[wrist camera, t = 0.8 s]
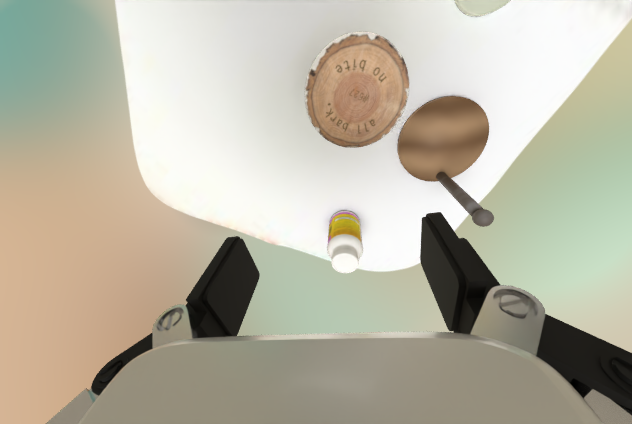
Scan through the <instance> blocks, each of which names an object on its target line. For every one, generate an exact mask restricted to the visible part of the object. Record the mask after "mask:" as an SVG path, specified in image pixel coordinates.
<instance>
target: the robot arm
mask: <svg viewBox="0 0 632 424" xmlns="http://www.w3.org/2000/svg"><path fill="white" fill-rule="evenodd" d="M420 259H421V264H422V267H423V270H424V272H425V275H426V277H427V279H428V282H429V284H430V287H431V289H432V292H433V294H434V296H435V299H436V301H437V303H438V306H439V308H440V311H441V313H442V316H443V318H444V321H445V323H446V325H447V327H448V329H449V331H454V333H451V332H450V333H449V332H371V333H330V334H329V333H328V334H292V335H291V334H290V335H258V336H237V334H238V332H239V329H240V326H241V324H242V321H243V319H244V316H245V314H246V311H247V308H248V306H249V303H250V300H251V298H252V295H253V293H254V290H255V288H256V285H257V282H258V280H259V271H258V269H257V267H256V265H255V263H254V261H253V259H252V257H251V255H250V253H249V251H248V249H247V247H246V245H245V243H244V241H243V239H240V237H238V236H236V237H228V238H227V239H226V240H225V242H224V243H223V244H222V246H221V248H220V249H219V251H218V252H217V254H216V255H215V257H214V258H213V260H212V261H211V263H210V264H209V266H208V267H207V269H206V270H205V272H204V273H203V275H202V276H201V278H200V279H199V281H198V282H197V284H196V285H195V287H194V288H193V290H192V291H191V293H190V294H189V296H188V297H187V299H186V301H187V302H188V303H187V304H186V306H185V305H175V306H173V307H171V308H169V309H167V310H166V311H164V312H163V313H162V314H161V315H160V316H159V317H158V319H157V320H156V322H155V323H154V325H153V329H152V330H153V331H152V333H151V334H150V335H148V336H147V337H145V338H144V339H142V340H141V341H139V342H138V343H136V344H135V345H133V346H132V347H130V348H129V349H127V350H126V351H124V352H123V353H121V354H119V355H118V356H116V357H115V358H113V359H112V360H111V361H110V362H108V363H107V364H106V365H105V366H104V367H103V368H102V369H101V370H100V371H99V373H98V374H97V375H96V377H95V379H94V381H93V383H92V386H91V389H90V390H88V389H87V388H86V389H85V390H84V391H82V392H81V393H80V394H79V395H78V396H77V397H76V398H74V399H73V400H72V401H71V402H70V403H69V404H68V405H67V406H65V407H64V408H63V409H62V410H61V411H60V412H59V413H57V414H56V415H55V416H54V417H53V418H52V419H51V420H49V422H47V423H46V424H632V353H630V352H628V351H626V350H624V349H621V348H619V347H617V346H615V345H612V344H610V343H608V342H606V341H604V340H602V339H599V338H597V337H595V336H593V335H590V334H588V333H586V332H584V331H582V330H580V329H577V328H575V327H573V326H571V325H569V324H566V323H564V322H562V321H560V320H557V319H555V318H553V317H551V316H549V315H547V314H545V309H544V307H543V305H542V303H541V302H540V301H539V300H538V299H537V298H536V297H535V296H533V295H532V294H530V293H528V292H527V291H525V290H522V289H520V288H517V287H513V286H506V285H500V284H499V282H498V281H497V280H496V278H495V277H494V276H493V274H492V273H491V272H490V270H489V269H488V268H487V266H486V265H485V263H484V262H483V261H482V259H481V258H480V257H479V255H478V254H477V253H476V251H475V250H474V249H473V247H472V246H471V245H470V243H469V242H468V241H467V240H466V239H465V238H458V236H457V235H456V234H455V232H454V231H453V229H452V228H451V226H450V225H449V224H448V222H447V221H446V219H445V218H444V216H443V215H442V214H441V212H437V213H429V214H427V215H426V217H423V218H422V232H421V256H420Z"/></svg>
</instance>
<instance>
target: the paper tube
mask: <svg viewBox="0 0 632 424" xmlns="http://www.w3.org/2000/svg"><path fill="white" fill-rule="evenodd" d="M408 92H409V77H408V71H407V67H406V64H405V62H404V59H403V57H402V56H401V54H400V52H399V51H398V50H397V48H396V47H395V46H394V45H393V44H392V43H391V42H390V41H388V40H387V39H385V38H384V37H382V36H380V35H378V34H374V33H371V32H352V33H348V34H345V35H342V36H340V37H338V38H336V39H335V40H333V41H332V42H330V43H329V44H328V45H327V46H325V47H324V48H323V49H322V50H321V52H320V53H319V54H318V55H317V57H316V58H315V60H314V62H313V64H312V66H311V68H310V70H309V73H308V76H307V80H306V85H305V104H306V109H307V113H308V115H309V118H310V120H311V122H312V124H313V126H314V127H315V129H316V130H317V131H318V132H319V133H320V134H321V135H322V136H323V137H324V138H325V139H327V140H328V141H330V142H332V143H333V144H336V145H339V146H342V147H350V148H355V147H363V146H367V145H369V144H372V143H374V142H376V141H378V140H379V139H381V138H382V137H384V136H385V135H386V134H387V133H389V132H390V130H391V129H392V128H393V127H394V126H395V125H396V123H397V122H398V120H399V119H400V117H401V115H402V113H403V111H404V108H405V106H406V102H407V98H408Z"/></svg>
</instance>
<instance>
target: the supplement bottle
mask: <svg viewBox="0 0 632 424" xmlns="http://www.w3.org/2000/svg"><path fill="white" fill-rule="evenodd" d="M327 251H328V254H329V256H330V258H331V259H332V266H333V268H334V269H335V270H337V271H339V272H341V273H350V272H352V271H354V270H356V269H357V267H358V264H359V259H360V257H361V256H362V253H363V245H362V237H361V227H360V221H359V218H358V217H357V216H356V215H355V214H354V213H352V212H350V211H340V212H337V213H336V214H334V215H333V216H332V218H331V219H330V224H329V235H328V246H327Z"/></svg>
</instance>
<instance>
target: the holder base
mask: <svg viewBox="0 0 632 424" xmlns="http://www.w3.org/2000/svg"><path fill="white" fill-rule="evenodd" d="M488 135H489V123H488V119H487V116H486V114H485V112H484V110H483V109H482V108H481V107H480V106H479V105H478V104H477V103H475V102H474V101H472V100H470V99H467V98H463V97H456V96H447V97H441V98H437V99H434V100H432V101H430V102H428V103H426V104H424V105H423V106H421V107H420V108H419V109H417V110H416V111H415V112H414V113H413V114H412V115H411V116H410V117H409V118H408V120H407V121H406V123H405V124H404V126H403V128H402V130H401V133H400V135H399V139H398V155H399V159H400V161H401V163H402V165H403V166H404V168H405V169H406V170H407V171H408V172H409V173H410V174H411V175H412V176H414V177H416V178H418V179H421V180H424V181H439V182H440V183H441V184H442V185H443V186H444V187H445V188H446V189H447V190H448V191H449V192H450V193H451V194H452V196H453V197H454V198H455V199H456V200H457V201H458V202H459V203H460V204H461V205H462V206H463V207H464V208H465V210H466V211H467V212H468V213H469V214H470V215H471V216H472V220H473V222H474V223H475V224H477V225H479V226H483V227H484V226H488V225H490V224H491V223H492V222H493V220H494V216H493V214H492V213H491V212H490V211H488V210H484V209H483V208H482V207H481V206H480V205H479V204H478V203H477V202H476V201H475V200H473V199H472V198H471V197H470V196H469V195H468V194H467V193H466V192H465V191H464V190H463V189H462V188H461V187H460V186H458V185H457V184H456V183H455V182H454V181H453V180H452V179H451V178H452V177H454V176H457V175H459V174H460V173H462V172H463V171H465V170H466V169H468V168H469V167H470V166H471V165H472V164H473V163H474V162H475V161H476V160H477V159H478V157H479V156H480V155H481V153H482V151H483V150H484V147H485V145H486V143H487V140H488Z"/></svg>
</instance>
